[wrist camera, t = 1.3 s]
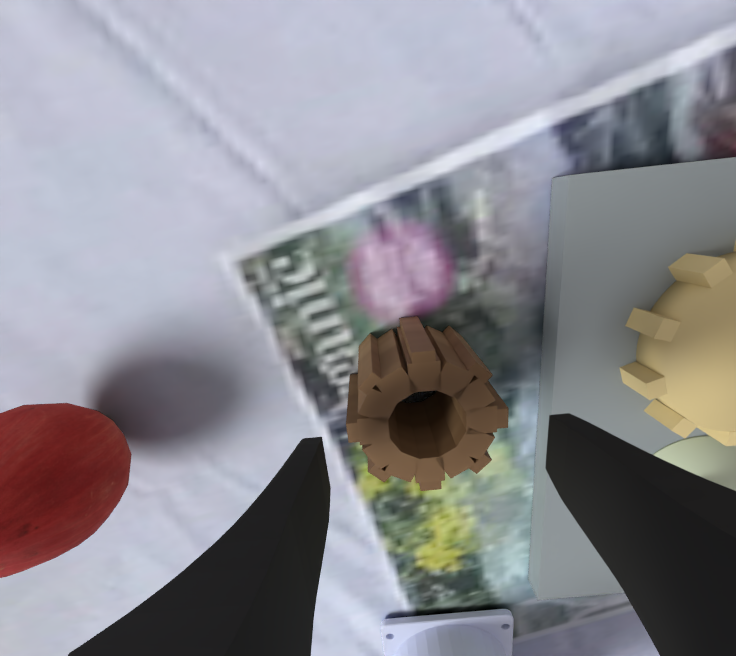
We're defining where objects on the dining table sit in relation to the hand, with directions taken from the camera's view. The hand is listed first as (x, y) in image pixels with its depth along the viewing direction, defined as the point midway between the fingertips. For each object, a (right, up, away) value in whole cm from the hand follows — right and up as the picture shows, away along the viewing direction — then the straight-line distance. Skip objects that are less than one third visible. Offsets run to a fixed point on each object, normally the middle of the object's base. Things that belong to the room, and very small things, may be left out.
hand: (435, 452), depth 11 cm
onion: (-15, -1, +6) cm, 16 cm away
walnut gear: (0, +2, +5) cm, 6 cm away
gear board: (+13, 0, +6) cm, 14 cm away
